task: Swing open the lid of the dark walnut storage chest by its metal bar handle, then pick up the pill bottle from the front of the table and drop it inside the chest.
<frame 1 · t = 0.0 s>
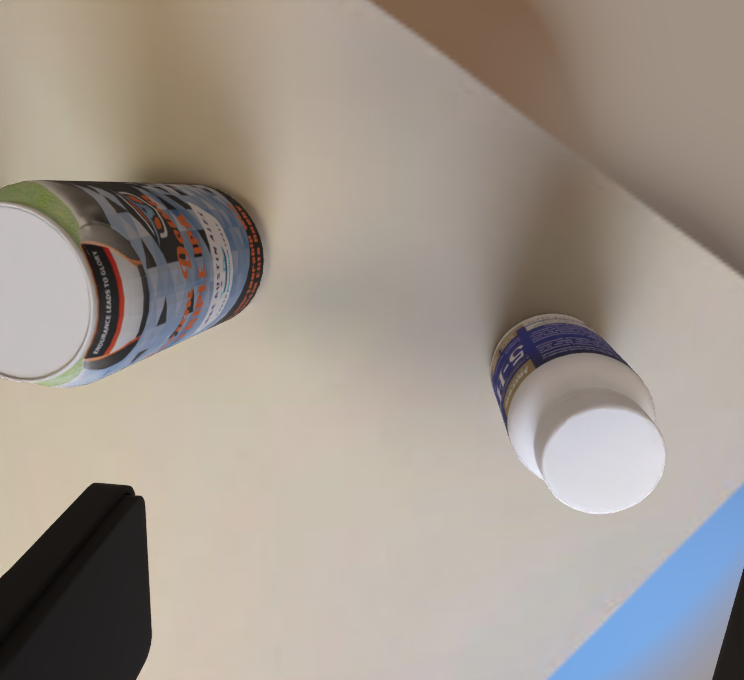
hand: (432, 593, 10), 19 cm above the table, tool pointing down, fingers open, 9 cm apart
pill bottle: (545, 366, 29), on the table
beverage can: (192, 244, 28), on the table
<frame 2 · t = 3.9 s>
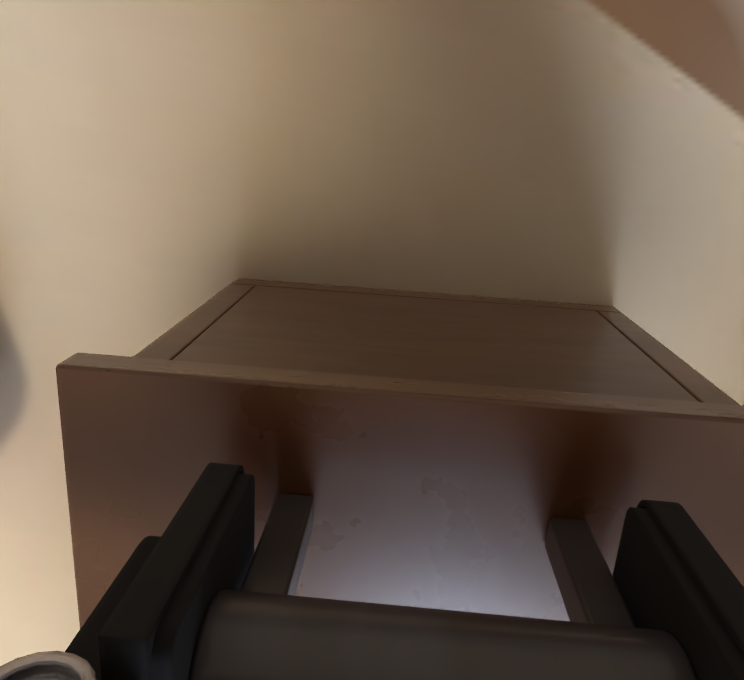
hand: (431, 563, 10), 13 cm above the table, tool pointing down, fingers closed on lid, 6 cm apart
chest: (406, 483, 25), on the table
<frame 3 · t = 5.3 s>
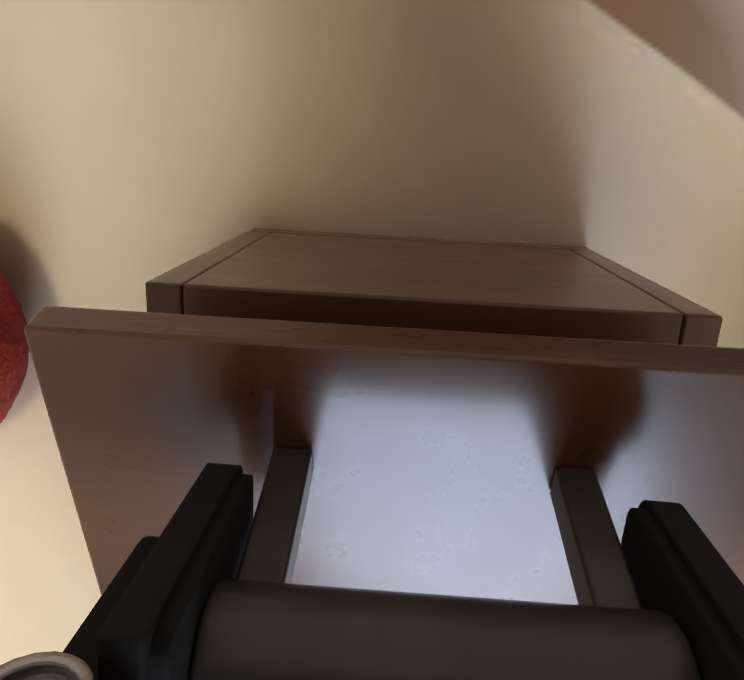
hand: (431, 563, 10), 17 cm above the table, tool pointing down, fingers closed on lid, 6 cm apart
chest: (406, 414, 28), on the table
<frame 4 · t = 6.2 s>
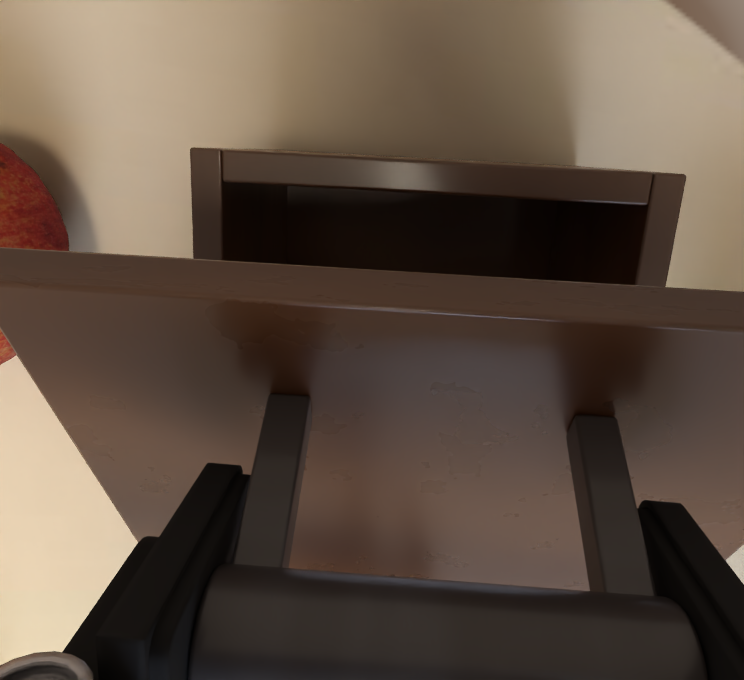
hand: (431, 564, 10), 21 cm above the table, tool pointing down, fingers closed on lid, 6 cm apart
lid: (413, 639, 14), point 18 cm above the table, hinge at 32.3°, touching gripper
fruit: (5, 240, 30), on the table
chest: (411, 326, 30), on the table
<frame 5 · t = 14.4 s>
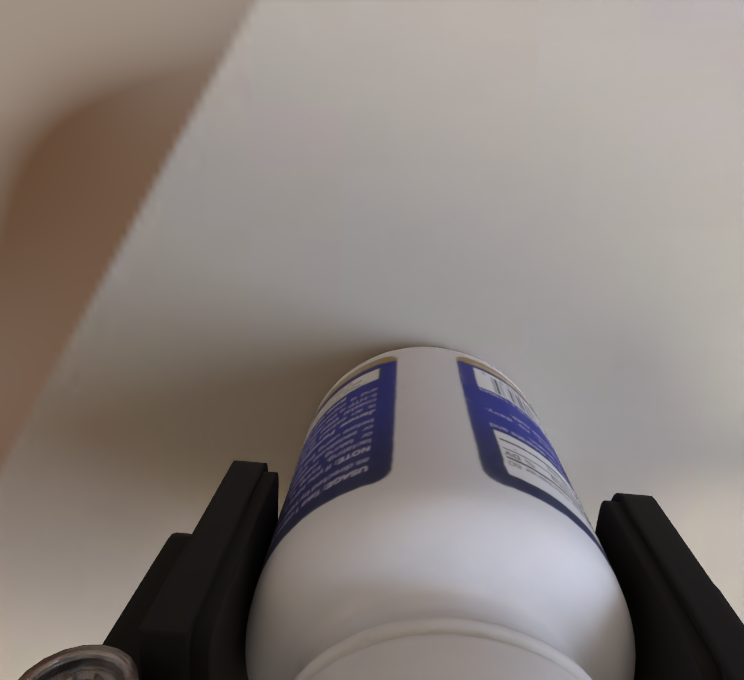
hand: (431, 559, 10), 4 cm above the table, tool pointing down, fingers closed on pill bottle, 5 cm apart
pill bottle: (425, 447, 14), on the table, touching gripper
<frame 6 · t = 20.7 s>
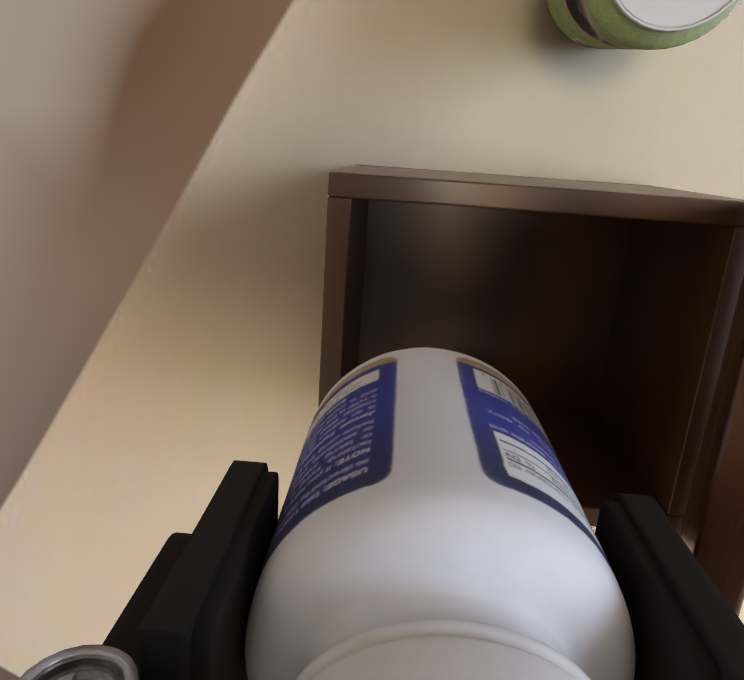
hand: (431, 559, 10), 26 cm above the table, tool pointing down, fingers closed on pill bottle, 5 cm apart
pill bottle: (425, 448, 14), point 22 cm above the table, touching gripper
chest: (486, 299, 36), on the table
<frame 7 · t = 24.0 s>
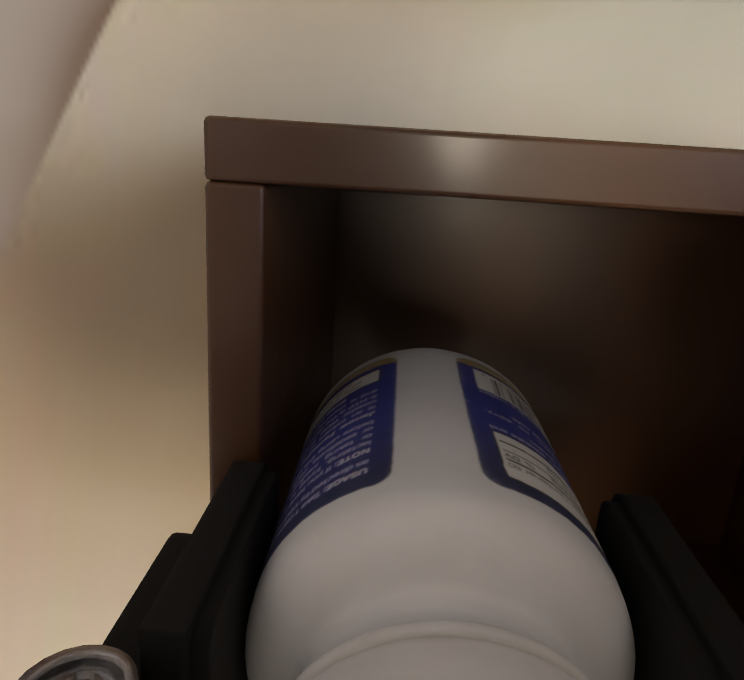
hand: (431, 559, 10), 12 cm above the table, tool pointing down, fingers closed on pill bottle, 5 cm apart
pill bottle: (425, 449, 14), point 8 cm above the table, touching gripper
chest: (538, 360, 21), on the table
when the fingers open (13 cm above the table, at t = 32.9 s): pill bottle drops 8 cm, resting on chest.
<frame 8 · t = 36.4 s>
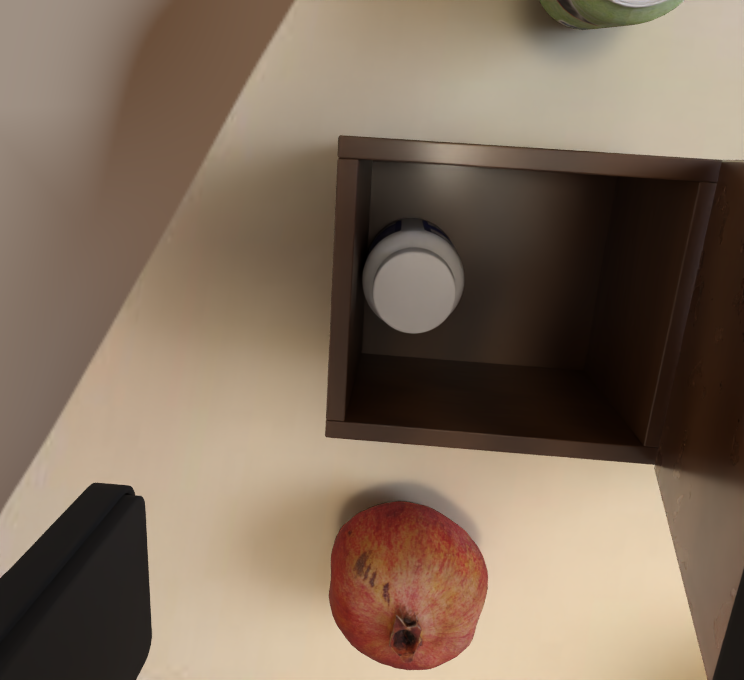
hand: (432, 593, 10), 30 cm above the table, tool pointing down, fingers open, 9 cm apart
pill bottle: (412, 260, 38), point 1 cm above the table, touching chest
fruit: (406, 537, 45), on the table
chest: (481, 264, 38), on the table
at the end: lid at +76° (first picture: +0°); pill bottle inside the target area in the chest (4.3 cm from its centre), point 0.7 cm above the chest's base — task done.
